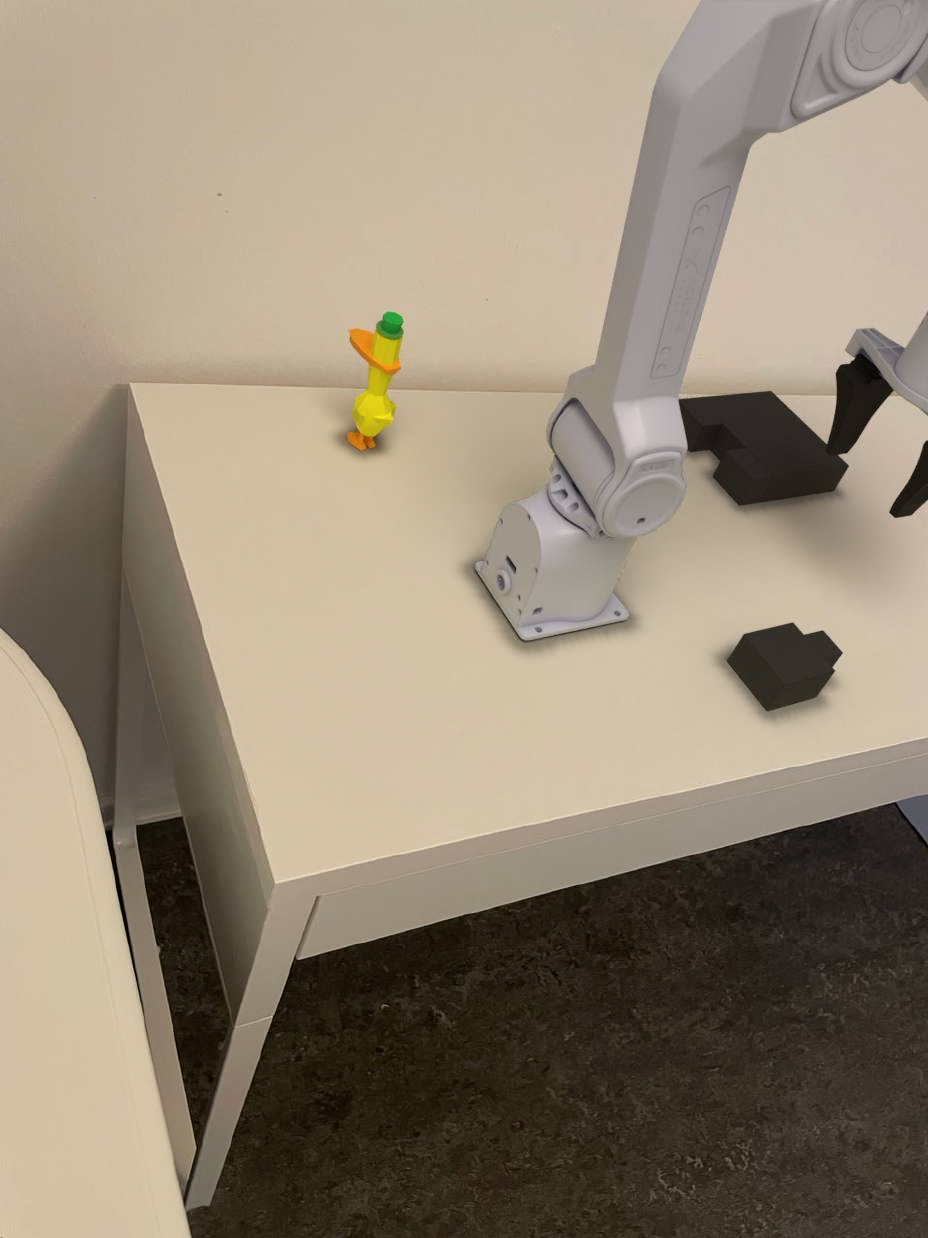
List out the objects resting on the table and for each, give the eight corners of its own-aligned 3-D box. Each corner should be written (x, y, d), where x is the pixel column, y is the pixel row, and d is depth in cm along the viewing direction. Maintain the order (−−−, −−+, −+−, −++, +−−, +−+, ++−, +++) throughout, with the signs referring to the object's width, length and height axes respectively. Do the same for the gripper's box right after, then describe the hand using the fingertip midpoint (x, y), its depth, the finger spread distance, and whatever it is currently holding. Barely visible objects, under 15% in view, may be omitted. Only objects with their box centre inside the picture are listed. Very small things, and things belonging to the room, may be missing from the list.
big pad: (739, 505, 92) (753, 479, 90) (665, 424, 98) (677, 398, 96) (834, 490, 97) (849, 465, 95) (758, 415, 104) (771, 390, 102)
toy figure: (318, 422, 86) (341, 290, 77) (353, 413, 88) (378, 284, 79) (367, 469, 83) (395, 338, 74) (401, 459, 85) (432, 329, 76)
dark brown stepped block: (766, 711, 74) (785, 684, 72) (726, 660, 77) (743, 633, 75) (835, 692, 77) (855, 665, 75) (794, 644, 80) (812, 617, 78)
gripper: (1081, 385, 69) (965, 536, 79) (931, 273, 77) (842, 422, 87) (1017, 392, 66) (904, 549, 75) (867, 274, 74) (782, 429, 83)
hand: (867, 482), depth 81 cm, fingers open, 7 cm apart
